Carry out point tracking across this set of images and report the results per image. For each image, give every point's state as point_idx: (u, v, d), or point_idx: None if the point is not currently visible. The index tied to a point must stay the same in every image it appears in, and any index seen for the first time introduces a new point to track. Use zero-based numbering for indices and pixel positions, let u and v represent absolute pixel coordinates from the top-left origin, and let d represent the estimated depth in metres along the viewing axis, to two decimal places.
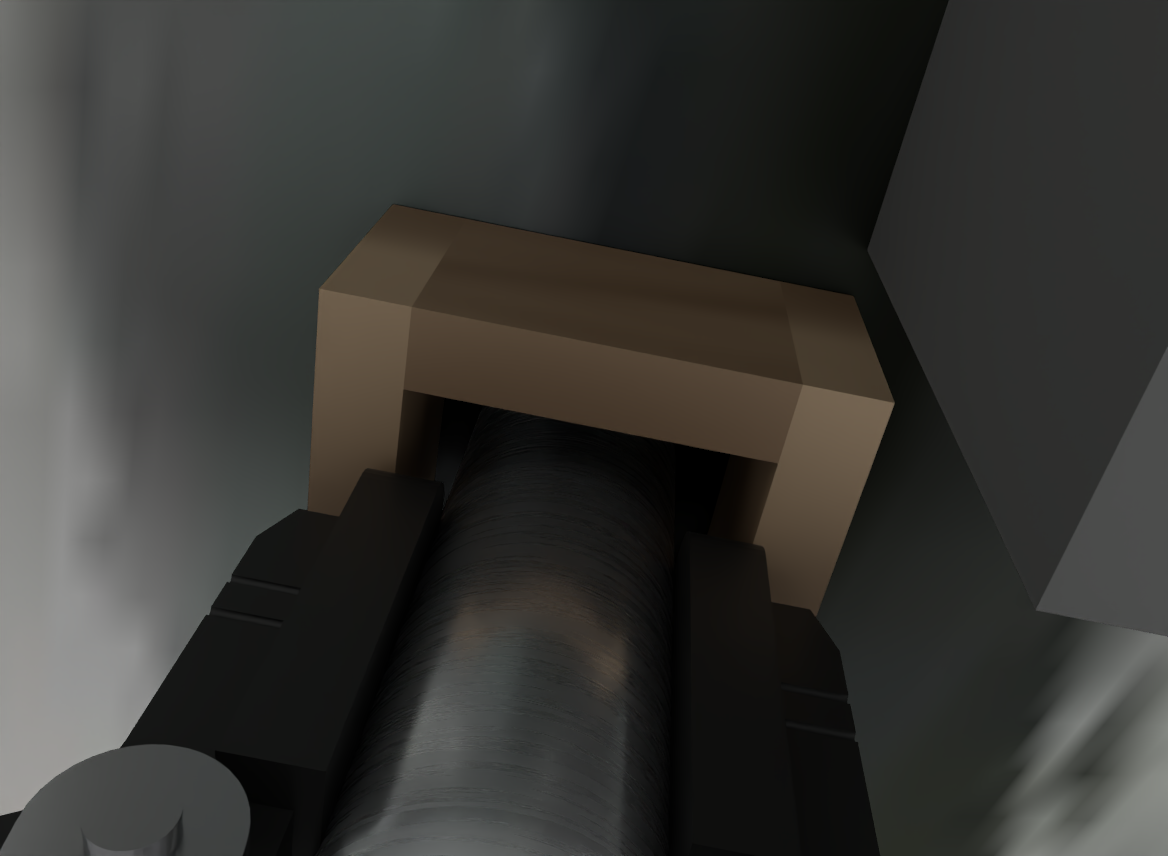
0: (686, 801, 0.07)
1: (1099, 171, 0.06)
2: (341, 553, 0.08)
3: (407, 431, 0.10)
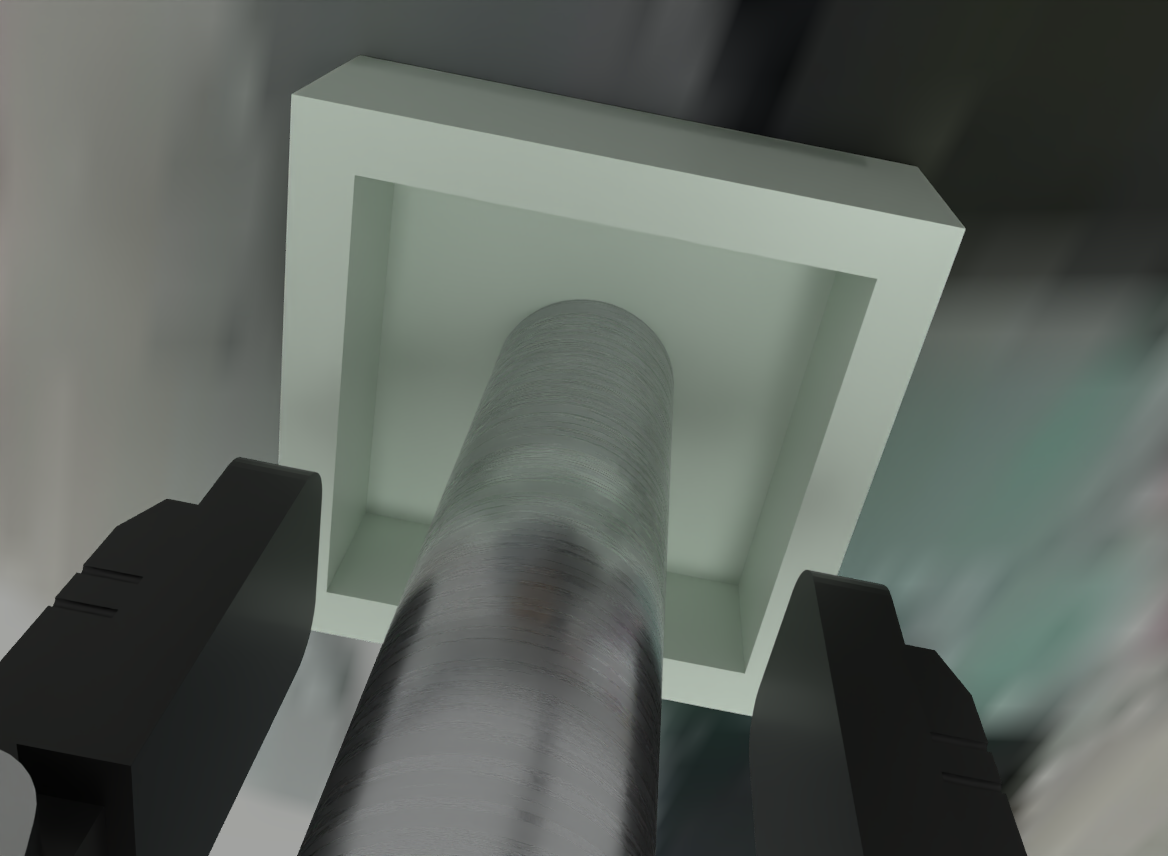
0: None
1: None
2: (192, 543, 0.08)
3: None
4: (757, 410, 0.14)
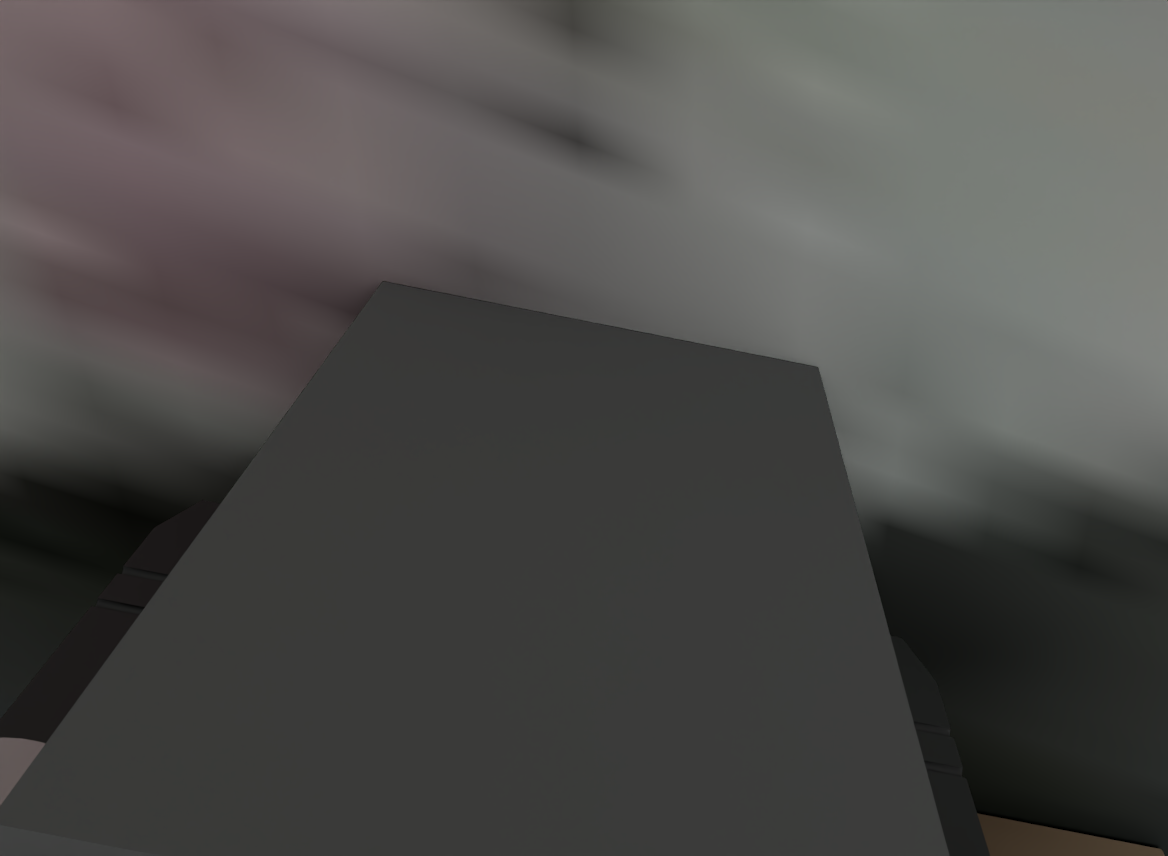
0: None
1: None
2: None
3: None
4: None
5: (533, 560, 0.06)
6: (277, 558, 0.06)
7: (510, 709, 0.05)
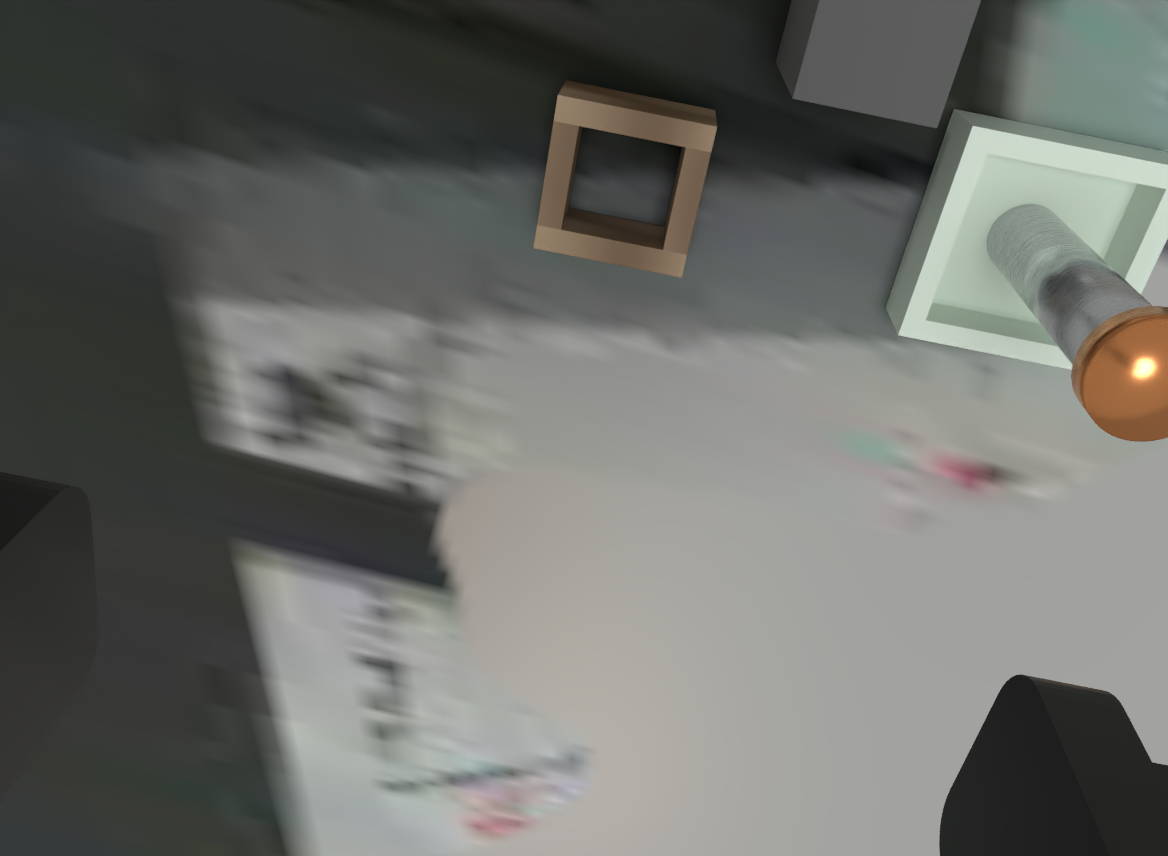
0: None
1: None
2: None
3: (581, 230, 0.34)
4: (1049, 169, 0.33)
5: None
6: None
7: None
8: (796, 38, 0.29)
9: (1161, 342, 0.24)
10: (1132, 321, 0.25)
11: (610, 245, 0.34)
